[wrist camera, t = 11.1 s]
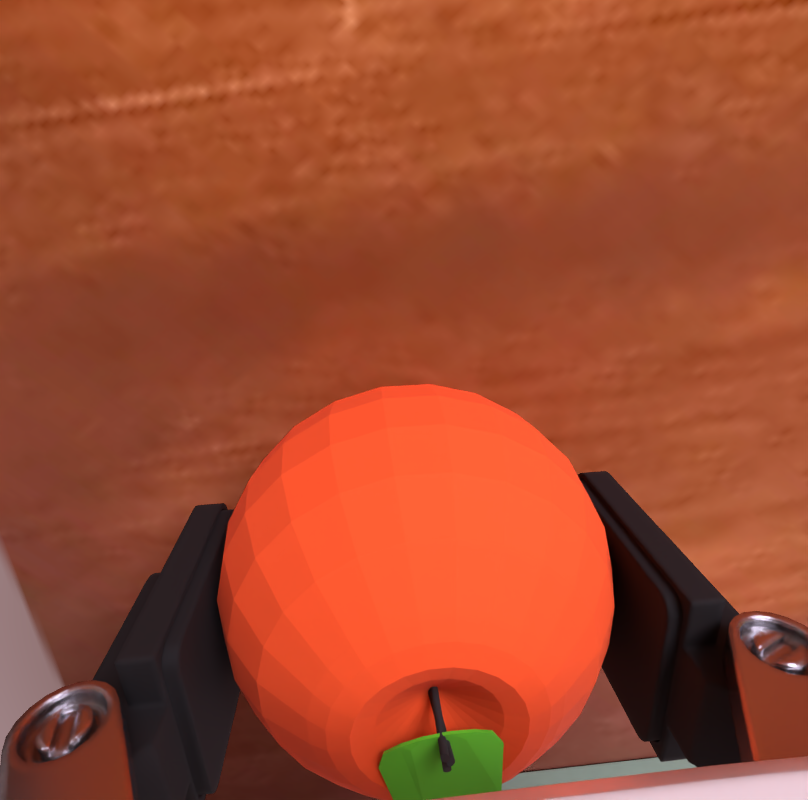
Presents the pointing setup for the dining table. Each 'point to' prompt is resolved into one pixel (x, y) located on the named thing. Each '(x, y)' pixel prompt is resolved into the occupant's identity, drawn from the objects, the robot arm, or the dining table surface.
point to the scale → (593, 772)
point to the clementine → (416, 593)
